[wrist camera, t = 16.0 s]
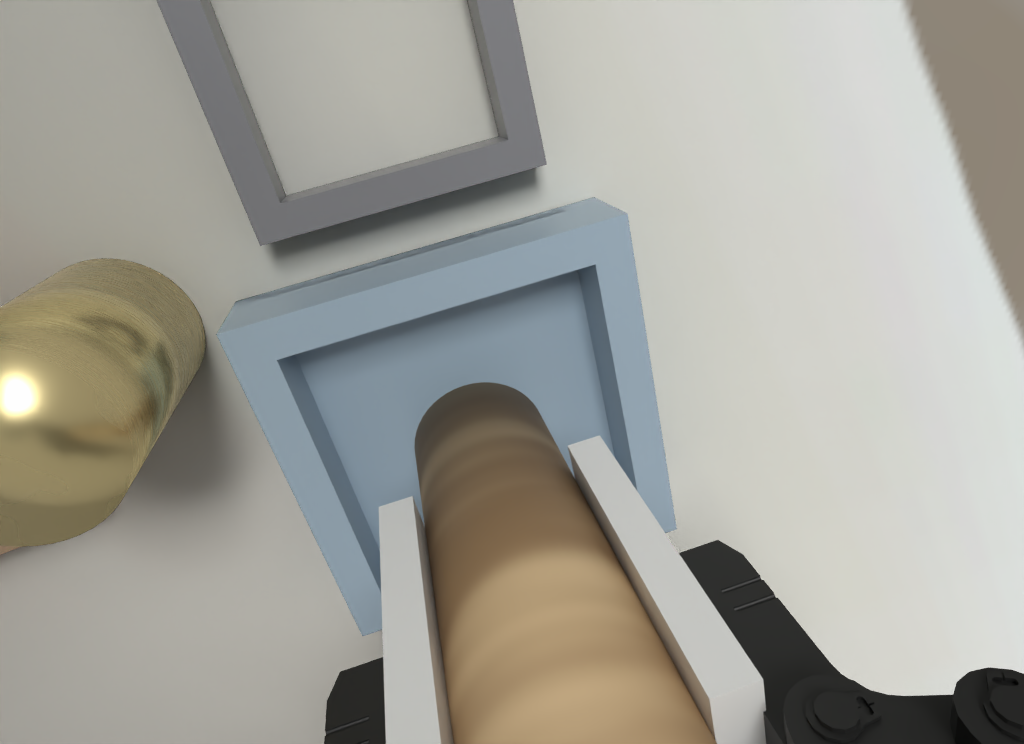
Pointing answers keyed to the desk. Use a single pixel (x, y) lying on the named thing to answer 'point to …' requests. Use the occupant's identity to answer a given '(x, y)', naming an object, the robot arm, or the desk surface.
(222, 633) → the desk surface
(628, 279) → the tray
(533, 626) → the dowel
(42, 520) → the cylinder
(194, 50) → the holder
